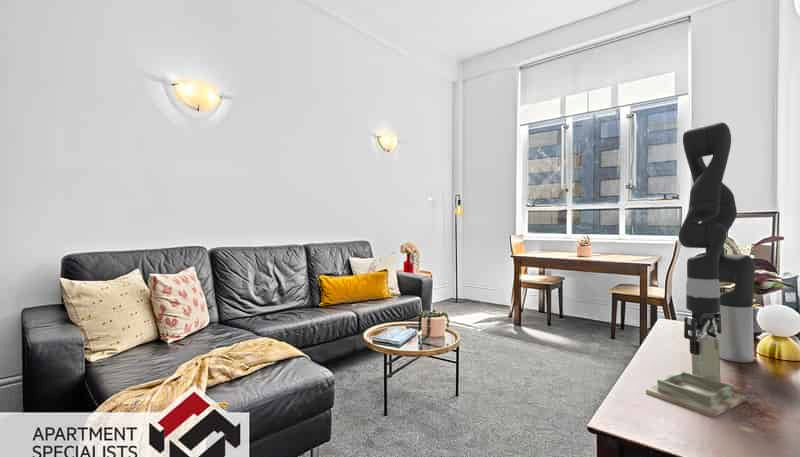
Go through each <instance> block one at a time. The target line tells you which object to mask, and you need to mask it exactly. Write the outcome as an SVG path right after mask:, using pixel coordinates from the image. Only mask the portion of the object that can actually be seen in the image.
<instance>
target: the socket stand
mask: <svg viewBox="0 0 800 457" xmlns="http://www.w3.org/2000/svg"><path fill="white" fill-rule="evenodd" d="M645 393H646V394H648V395H650V396H653V397H657V398H660V399H662V400H664V401H667V402H670V403H673V404H675V405H678V406H682V407H684V408H687V409H689V410H692V411H693V412H694V411H695V412H697V413H700V414H703V415H705V416H707V417H711V418H715V417H716V416H719V415H720V414H723V413H724V412H727V411H728V410H730V409H732V408H735V407H736V406H739V405H741V404H742V403H744V402H747V396H746V395H742V394H739V393H736V392H734V385H732V384H731V385H730V384H727V383H725V382H722V381H721V382H718V381H714V380H711V379H707V378H704V377H701V376H697V375H694V374H692V373H690V372H687V371H684V370H682V371H678V372H677V373H676V372H675V373H673V374H671V375H667V376H665V377H662V378H660V379H657V384H656V385H653V386H649V387H647V388H645Z"/></svg>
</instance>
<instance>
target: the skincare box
mask: <svg viewBox="0 0 800 457" xmlns="http://www.w3.org/2000/svg"><path fill="white" fill-rule="evenodd" d="M696 336H697V334H696ZM699 342H700V355H694V354H691V353H690V354H691V374H694V375H697V376H701V377H704V378H707V379H711V380H714V381H718V382H721V383H722V381H721V379H722V378H721V361H720V359H721V358H720V353H719V340H718V339H716V338H714V337H712V336H710V335H707V334H706V333H705V334H704V335H702V336H701V339H700V341H699Z"/></svg>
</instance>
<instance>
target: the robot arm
mask: <svg viewBox="0 0 800 457" xmlns="http://www.w3.org/2000/svg"><path fill="white" fill-rule="evenodd" d="M682 143H683V144H682V145H683V149H684V153H685V158H686V161H687V164H688V168H689V172H690V174H691V178H692V183H693V184H692V186H691V188H690V192H689V202H688V210H687V214H686V216H685V218H684V221H683V222H682V225H681V226H680V229H679V232H678V241H679V243H680V245H682V246H683V247H684V248H687V249H688V248H689V249H691V248H692V249H705V254H704V255H697V256H691V257H689V258H688V259H687V261H686V283H685V291H686V292H685V294H686V295H685V302H686V303H685V304H686V306H685V307H686V309H687V310H688V311H690V312H691V316H684V324H683V325H684V326H683V327H684V329H683V338H684V339H686V340H689V353H690V354H694V355H700V342H699V341H700V339H701V336H702V335H704V334H707V335H710V336H712V337H714V338H716V339H718V340H719V353H720V359H722V360H726V361H730V362H734V363H753V362H755V361H754V360H755V356H754V354H755V352H754V346H755V344H754V343H755V342H754V308H753V306H754V303H753V302H754V296H755V295H754V293H755V262H754V259H753V258H752V257H751V256H749V255H746V254H734V253H733V254H732V253H730V254H729V253H724V250H723V249H724V245H725V243H726V241H727V236H728V235H727V234H728V232H729V230H730V229H731V227H732V226H733V224H734V222H735V221H736V217H737V215H738V214H737V213H738V212H737V206H736V200H735V196H734V193H733V191H732V190H731V189H730V187H728V186H727V185H726V183H724V182H723V179H724V175H725V172H726V167H727V164H728V160H729V156H730V151H731V147H732V133H731V128H730V127H729V126H728V124H726V123H725V122H715V123H711V124H707V125H703V126H697V127H693V128H689V129H686V130H685V131H684V132H683V135H682ZM709 156H712V157H711V160H710V161H709V163H708V164H707V165H706V163H705V161H704V159H703V157H709ZM720 283H727V284H728V283H729V284H734V288H733V289H732V290H730V291H725V292H721V284H720ZM696 334H697V336H696Z"/></svg>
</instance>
